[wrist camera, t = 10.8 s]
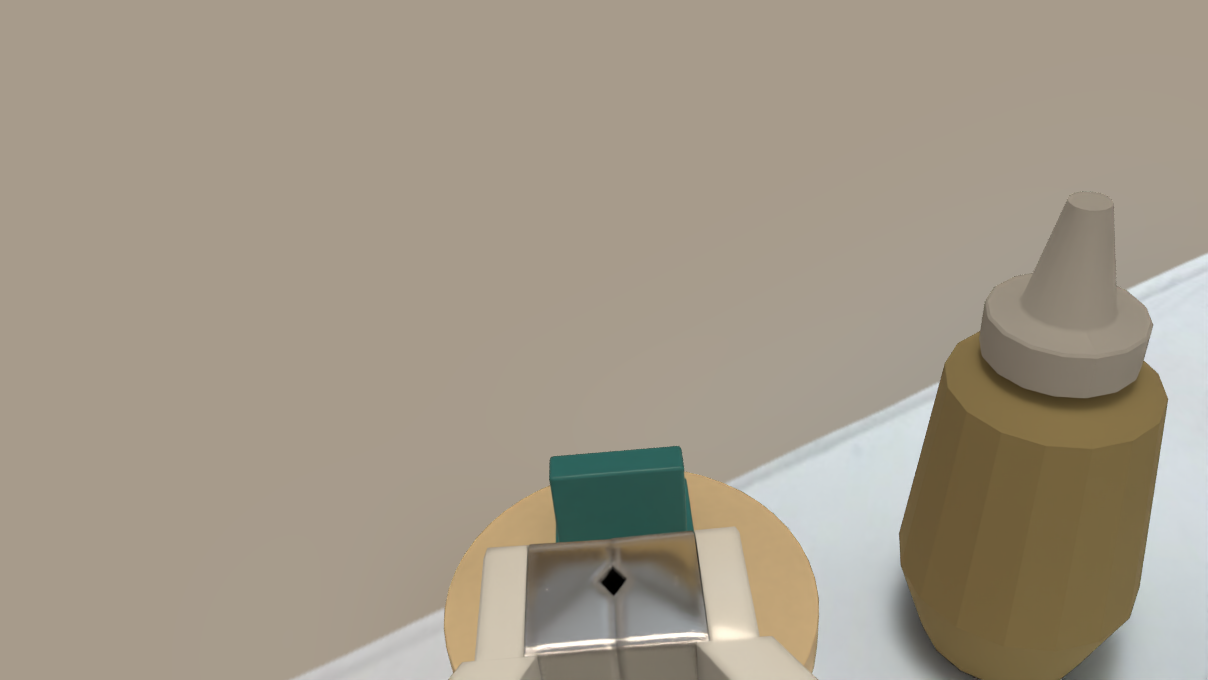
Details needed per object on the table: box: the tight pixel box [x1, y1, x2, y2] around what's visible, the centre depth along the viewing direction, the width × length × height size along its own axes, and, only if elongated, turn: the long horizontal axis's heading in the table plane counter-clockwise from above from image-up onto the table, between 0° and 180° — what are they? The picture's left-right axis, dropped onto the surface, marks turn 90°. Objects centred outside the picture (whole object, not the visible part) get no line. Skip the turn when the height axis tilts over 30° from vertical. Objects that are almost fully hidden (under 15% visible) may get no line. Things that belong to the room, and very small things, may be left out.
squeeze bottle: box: [899, 191, 1168, 680], centre depth 34 cm, size 8×8×18 cm
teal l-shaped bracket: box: [549, 446, 694, 543], centre depth 25 cm, size 4×4×4 cm
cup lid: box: [444, 472, 819, 673], centre depth 26 cm, size 9×9×1 cm
